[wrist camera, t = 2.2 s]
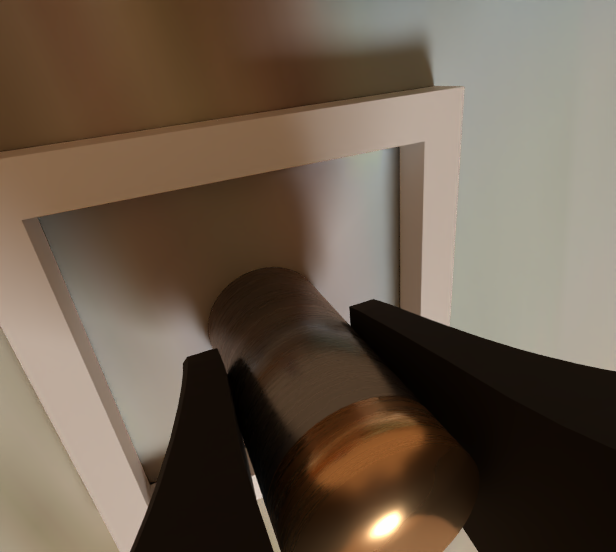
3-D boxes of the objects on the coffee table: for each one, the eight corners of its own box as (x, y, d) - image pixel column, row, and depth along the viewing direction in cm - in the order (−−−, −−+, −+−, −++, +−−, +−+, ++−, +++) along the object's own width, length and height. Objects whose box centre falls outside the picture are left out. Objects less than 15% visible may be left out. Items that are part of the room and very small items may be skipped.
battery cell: (314, 254, 11) (488, 413, 6) (324, 349, 12) (471, 546, 7) (195, 285, 10) (274, 507, 5) (221, 384, 11) (303, 638, 6)
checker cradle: (435, 86, 10) (464, 86, 9) (425, 400, 15) (443, 419, 14) (-57, 161, 7) (-81, 171, 6) (122, 523, 12) (123, 557, 11)
